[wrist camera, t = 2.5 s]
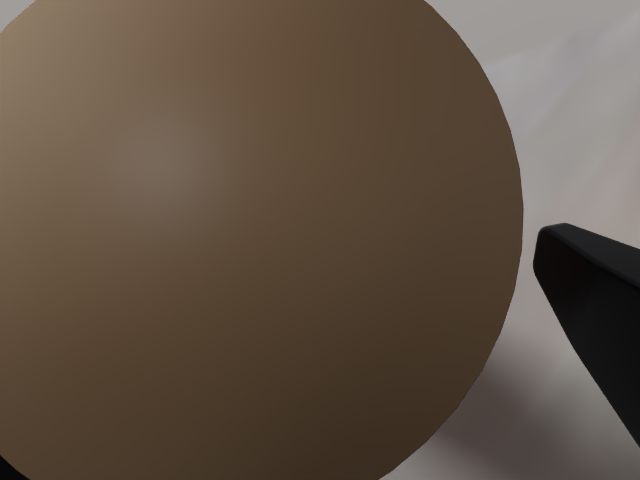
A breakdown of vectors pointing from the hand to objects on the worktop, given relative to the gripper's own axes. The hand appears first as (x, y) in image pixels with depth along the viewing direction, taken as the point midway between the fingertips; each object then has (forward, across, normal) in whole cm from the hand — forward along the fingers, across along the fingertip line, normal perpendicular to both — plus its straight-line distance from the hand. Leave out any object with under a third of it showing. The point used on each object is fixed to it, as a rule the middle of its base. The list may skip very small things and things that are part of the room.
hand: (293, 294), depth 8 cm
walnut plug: (+6, 0, +6) cm, 8 cm away
